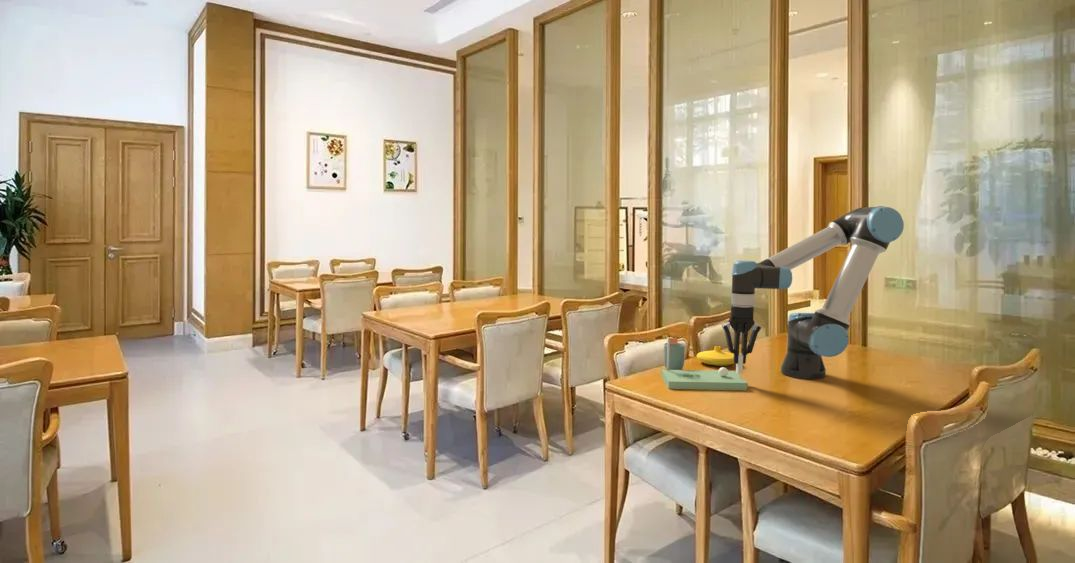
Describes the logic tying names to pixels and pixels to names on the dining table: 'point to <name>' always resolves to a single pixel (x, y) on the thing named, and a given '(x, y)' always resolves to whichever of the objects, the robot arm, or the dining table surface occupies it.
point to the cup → (675, 356)
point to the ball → (723, 371)
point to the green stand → (700, 377)
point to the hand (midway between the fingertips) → (739, 372)
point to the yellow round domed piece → (716, 357)
